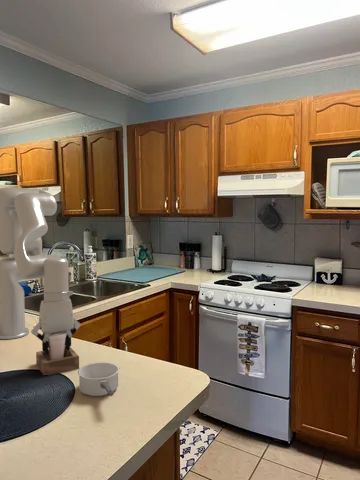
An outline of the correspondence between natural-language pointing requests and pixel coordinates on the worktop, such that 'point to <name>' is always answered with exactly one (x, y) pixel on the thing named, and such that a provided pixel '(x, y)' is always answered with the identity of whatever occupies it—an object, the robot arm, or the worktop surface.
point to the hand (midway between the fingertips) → (56, 350)
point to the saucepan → (98, 378)
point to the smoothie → (57, 344)
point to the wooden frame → (57, 362)
